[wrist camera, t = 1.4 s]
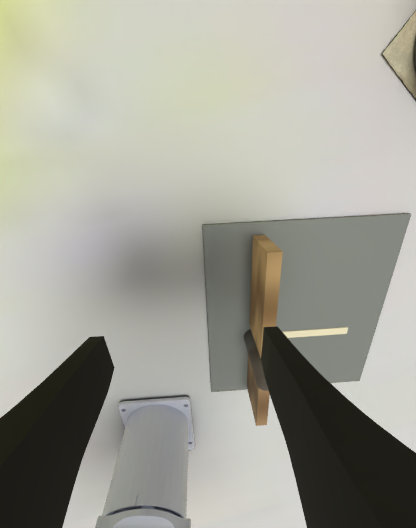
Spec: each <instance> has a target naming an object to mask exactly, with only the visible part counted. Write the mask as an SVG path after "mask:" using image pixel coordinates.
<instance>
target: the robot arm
mask: <svg viewBox="0 0 416 528" xmlns="http://www.w3.org/2000/svg"><path fill="white" fill-rule="evenodd" d="M261 362H262V367H263V371H264V376H265V380H266V384H267V387H268V390H269V393H270V396H271V399H272V402H273V405H274V408H275V411H276V414H277V417H278V419H279V422H280V425H281V428H282V431H283V434H284V437H285V441H286V444H287V447H288V451H289V455H290V459H291V462H292V466H293V470H294V474H295V478H296V482H297V487H298V491H299V495H300V499H301V503H302V508H303V512H304V516H305V520H306V525H307V528H416V453H415V452H414V451H412V450H411V449H409V448H408V447H407V446H405V445H404V444H403V443H402V442H400V441H399V440H398V439H396V438H395V437H394V436H392V435H391V434H390V433H388V432H387V431H386V430H384V429H383V428H382V427H380V426H379V425H378V424H376V423H375V422H374V421H373V420H372V419H370V418H369V417H368V416H367V415H366V414H364V413H363V412H362V411H361V410H359V409H358V408H357V407H356V406H355V405H354V404H353V403H351V402H350V401H349V400H348V399H347V398H346V397H345V396H343V395H342V394H341V393H340V392H339V391H338V390H337V389H336V388H335V387H334V386H333V385H332V384H331V383H329V382H328V381H327V380H326V379H325V378H324V377H323V376H322V375H321V374H320V373H319V372H318V371H317V370H316V369H315V368H314V367H313V365H312V364H311V363H310V362H309V361H308V360H307V359H306V358H305V357H304V356H303V355H302V354H301V353H300V352H299V350H298V349H297V348H296V347H295V346H294V345H293V344H292V343H291V341H290V340H289V339H288V338H287V337H286V336H285V334H284V333H283V332H282V331H281V330H280V328H279V327H277V326H275V327H264V330H263V341H262V352H261ZM113 371H114V365H113V362H112V359H111V356H110V354H109V351H108V348H107V345H106V342H105V339H104V336H100V337H90V338H88V339H87V340H86V341H85V342H84V343H83V344H82V345H81V346H80V347H79V348H78V349H77V350H76V351H75V352H74V353H73V354H72V355H71V356H70V357H68V358H67V359H66V360H65V361H64V362H63V363H62V364H61V365H60V366H59V367H58V368H57V369H56V370H55V371H54V372H53V373H52V374H51V375H50V376H48V377H47V378H46V379H45V380H44V381H43V382H42V383H41V384H40V385H39V386H37V387H36V388H35V389H34V390H33V391H32V392H31V393H29V394H28V395H27V396H26V397H25V398H24V399H23V400H22V401H20V402H19V403H18V404H17V405H16V406H15V407H13V408H12V409H11V410H10V411H9V412H7V413H6V414H5V415H4V416H3V417H1V418H0V528H62V526H63V523H64V519H65V515H66V512H67V508H68V505H69V501H70V497H71V494H72V491H73V487H74V484H75V481H76V477H77V474H78V471H79V467H80V464H81V461H82V458H83V455H84V453H85V450H86V447H87V445H88V442H89V439H90V437H91V434H92V432H93V429H94V427H95V424H96V422H97V419H98V416H99V414H100V411H101V409H102V406H103V403H104V401H105V398H106V396H107V393H108V390H109V386H110V383H111V379H112V375H113ZM118 408H119V412H120V415H121V418H122V422H123V425H124V428H125V432H124V435H123V439H122V443H121V447H120V450H119V454H118V458H117V461H116V465H115V469H114V473H113V476H112V480H111V484H110V488H109V491H108V495H107V499H106V502H105V506H104V510H103V514H102V516H99V517H98V519H97V523H96V527H95V528H191V520H190V519H187V518H186V507H187V470H188V450H193V449H194V448H195V441H194V432H193V423H192V414H191V405H190V398H188V397H174V398H161V399H148V400H135V401H123V402H120V403H119V405H118Z"/></svg>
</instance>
